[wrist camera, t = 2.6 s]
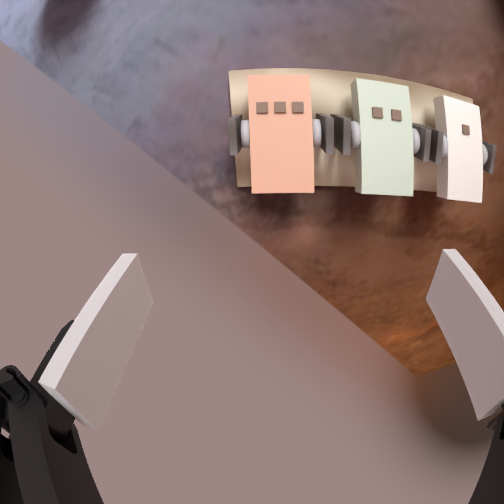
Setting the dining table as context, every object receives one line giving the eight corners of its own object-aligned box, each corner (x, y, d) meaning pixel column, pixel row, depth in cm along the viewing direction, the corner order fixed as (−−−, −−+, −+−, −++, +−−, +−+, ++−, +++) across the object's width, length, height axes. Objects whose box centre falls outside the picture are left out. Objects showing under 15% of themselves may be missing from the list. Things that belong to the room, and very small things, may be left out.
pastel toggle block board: (230, 72, 23) (217, 65, 17) (467, 98, 20) (501, 105, 15) (238, 183, 29) (230, 206, 23) (457, 191, 26) (486, 213, 21)
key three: (242, 83, 21) (238, 75, 19) (313, 82, 21) (317, 74, 18) (246, 191, 24) (243, 194, 22) (318, 190, 23) (322, 193, 21)
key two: (343, 84, 20) (349, 76, 18) (404, 92, 20) (415, 87, 17) (347, 191, 23) (354, 193, 21) (408, 194, 23) (420, 197, 20)
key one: (427, 97, 19) (439, 93, 17) (471, 110, 19) (484, 107, 17) (430, 195, 22) (443, 199, 20) (473, 200, 22) (486, 203, 20)
